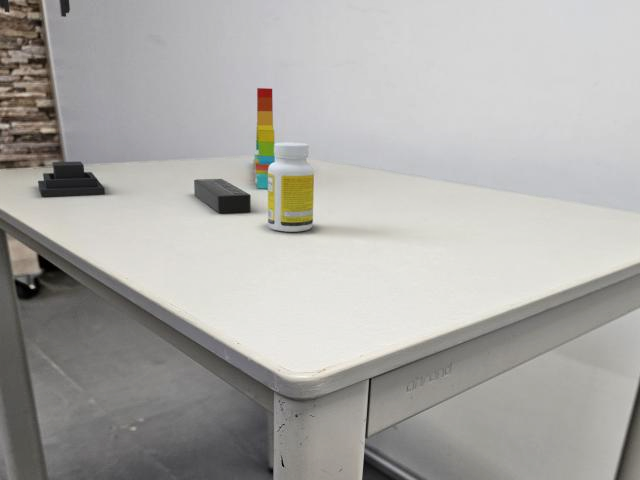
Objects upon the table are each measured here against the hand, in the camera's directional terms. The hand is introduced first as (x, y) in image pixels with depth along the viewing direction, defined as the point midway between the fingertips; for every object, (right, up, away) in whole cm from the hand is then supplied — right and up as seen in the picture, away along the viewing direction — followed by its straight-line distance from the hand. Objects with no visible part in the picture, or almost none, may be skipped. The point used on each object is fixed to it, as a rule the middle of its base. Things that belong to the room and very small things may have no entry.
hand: (36, 14), depth 104 cm
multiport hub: (+33, -34, -15) cm, 50 cm away
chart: (+36, -24, +12) cm, 45 cm away
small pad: (+10, -30, -10) cm, 33 cm away
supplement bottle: (+44, -40, -28) cm, 65 cm away
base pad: (+10, -31, -10) cm, 34 cm away
